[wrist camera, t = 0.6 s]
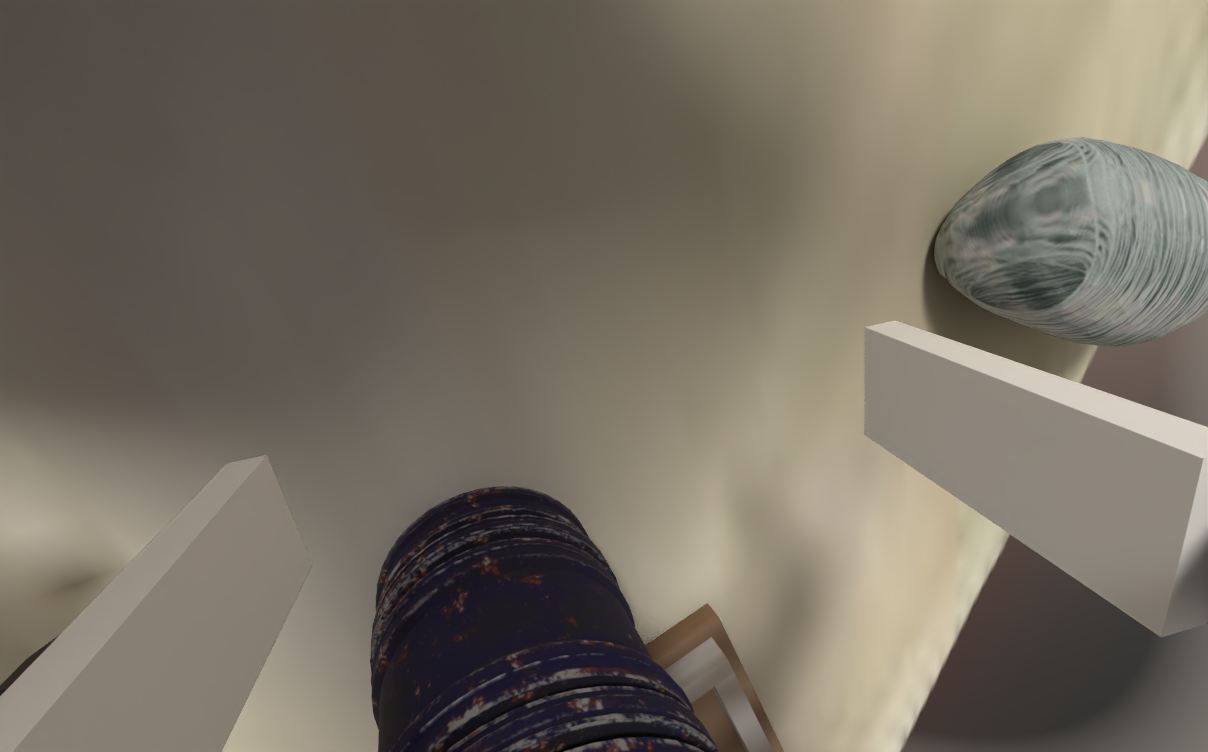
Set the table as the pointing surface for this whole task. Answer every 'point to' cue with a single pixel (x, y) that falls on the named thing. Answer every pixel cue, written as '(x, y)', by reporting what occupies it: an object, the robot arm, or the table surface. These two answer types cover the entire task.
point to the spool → (1083, 243)
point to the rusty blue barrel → (514, 639)
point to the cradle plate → (715, 683)
